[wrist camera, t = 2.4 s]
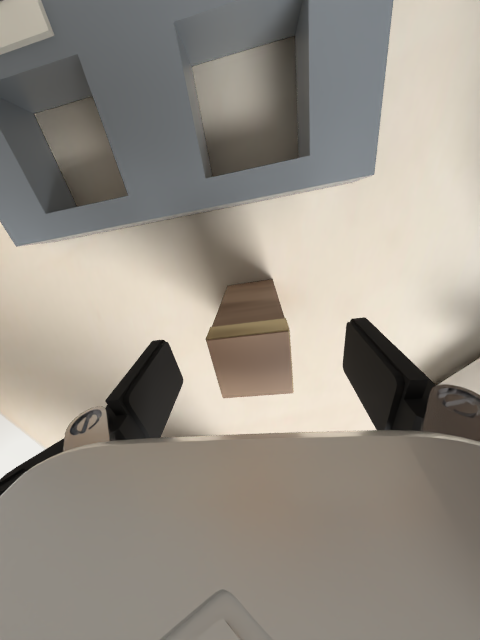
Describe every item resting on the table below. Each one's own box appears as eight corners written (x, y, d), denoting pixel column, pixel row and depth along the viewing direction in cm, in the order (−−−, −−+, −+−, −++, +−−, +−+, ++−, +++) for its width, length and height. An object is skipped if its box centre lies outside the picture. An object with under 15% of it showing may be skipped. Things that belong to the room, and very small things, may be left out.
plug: (276, 320, 19) (293, 393, 11) (235, 325, 20) (222, 398, 12) (273, 278, 17) (289, 330, 9) (226, 285, 18) (205, 340, 10)
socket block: (350, 182, 14) (378, 173, 11) (53, 241, 17) (10, 247, 14) (373, -149, 9) (438, -348, 6) (-66, 25, 12) (-177, -42, 9)
